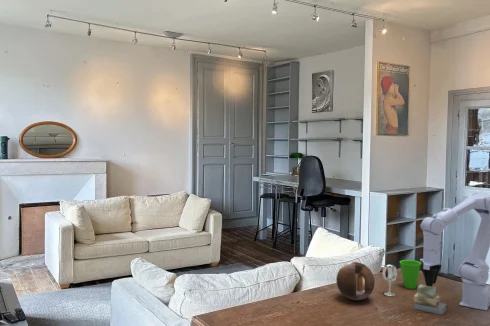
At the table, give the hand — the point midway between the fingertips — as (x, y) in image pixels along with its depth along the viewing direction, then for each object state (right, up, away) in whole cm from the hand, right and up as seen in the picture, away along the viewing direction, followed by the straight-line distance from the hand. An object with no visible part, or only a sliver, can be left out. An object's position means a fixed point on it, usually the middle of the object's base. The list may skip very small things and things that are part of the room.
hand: (430, 284), depth 164 cm
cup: (+3, -9, +27) cm, 28 cm away
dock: (0, -9, 0) cm, 9 cm away
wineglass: (-10, -9, +17) cm, 22 cm away
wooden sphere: (-26, -9, +10) cm, 30 cm away
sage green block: (0, -7, +3) cm, 8 cm away
